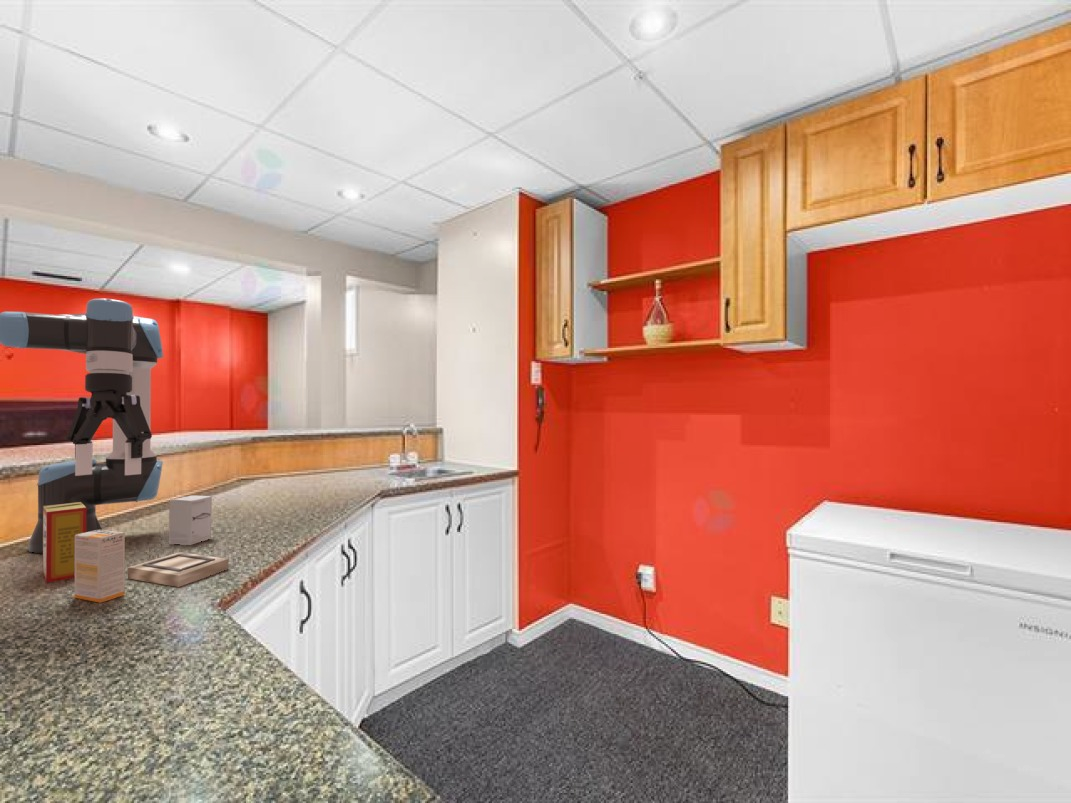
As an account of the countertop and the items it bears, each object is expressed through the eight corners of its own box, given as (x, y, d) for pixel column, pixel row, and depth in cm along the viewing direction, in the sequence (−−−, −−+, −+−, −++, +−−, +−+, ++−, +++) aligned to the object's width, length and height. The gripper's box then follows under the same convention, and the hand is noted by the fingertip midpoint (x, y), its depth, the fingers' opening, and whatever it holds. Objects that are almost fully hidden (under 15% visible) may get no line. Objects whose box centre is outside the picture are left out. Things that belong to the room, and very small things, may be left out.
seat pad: (127, 578, 113) (127, 566, 113) (180, 562, 124) (180, 550, 124) (178, 587, 108) (178, 574, 108) (228, 569, 119) (228, 557, 119)
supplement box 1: (126, 595, 103) (126, 532, 103) (99, 603, 99) (100, 538, 99) (100, 589, 106) (100, 528, 106) (73, 598, 101) (73, 534, 101)
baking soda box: (86, 575, 115) (86, 506, 115) (46, 582, 110) (46, 510, 110) (80, 566, 121) (80, 500, 121) (42, 572, 116) (43, 504, 116)
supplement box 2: (190, 546, 138) (190, 500, 138) (167, 544, 139) (168, 499, 139) (212, 539, 145) (212, 495, 145) (191, 537, 146) (191, 494, 146)
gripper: (45, 375, 104) (43, 476, 103) (136, 368, 98) (135, 476, 97) (85, 378, 111) (83, 473, 110) (172, 371, 105) (172, 472, 104)
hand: (108, 475), depth 104 cm, fingers open, 13 cm apart
